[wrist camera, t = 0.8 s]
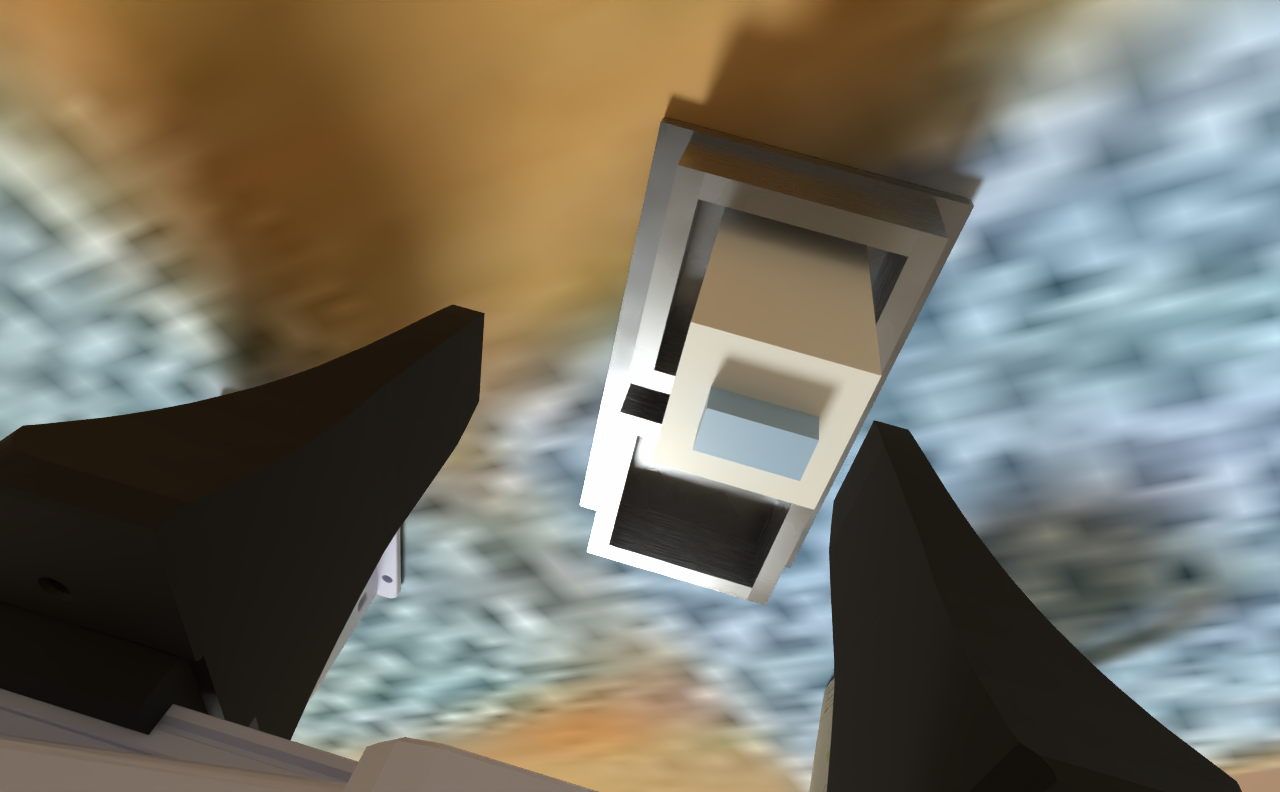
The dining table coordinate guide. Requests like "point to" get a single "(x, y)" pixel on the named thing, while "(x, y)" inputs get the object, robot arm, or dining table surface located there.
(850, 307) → the plug
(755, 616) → the dining table surface
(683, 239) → the panel
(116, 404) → the dining table surface
